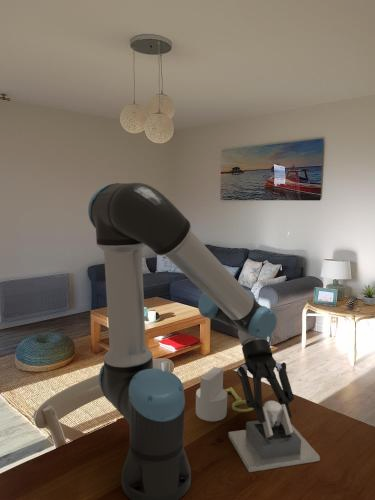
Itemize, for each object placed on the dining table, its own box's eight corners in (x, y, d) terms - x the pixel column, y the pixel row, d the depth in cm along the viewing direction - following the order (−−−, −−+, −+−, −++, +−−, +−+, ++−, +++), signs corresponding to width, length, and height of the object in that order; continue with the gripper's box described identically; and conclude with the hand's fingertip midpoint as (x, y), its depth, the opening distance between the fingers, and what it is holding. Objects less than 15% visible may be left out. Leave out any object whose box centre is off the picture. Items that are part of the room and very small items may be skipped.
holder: (249, 472, 91) (249, 453, 90) (228, 436, 104) (228, 419, 103) (319, 460, 95) (320, 442, 94) (290, 427, 108) (291, 411, 108)
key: (230, 392, 128) (230, 385, 128) (258, 409, 119) (258, 402, 118) (213, 398, 124) (213, 392, 124) (241, 416, 114) (241, 409, 114)
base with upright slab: (218, 424, 109) (219, 383, 108) (190, 415, 114) (190, 375, 112) (231, 410, 117) (233, 371, 115) (204, 401, 121) (205, 364, 120)
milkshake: (274, 446, 96) (276, 407, 94) (257, 435, 100) (260, 398, 99) (286, 440, 98) (289, 402, 97) (270, 429, 103) (272, 393, 101)
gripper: (279, 347, 114) (306, 434, 100) (220, 351, 109) (240, 443, 96) (289, 335, 108) (319, 426, 94) (228, 340, 104) (250, 436, 90)
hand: (279, 434), depth 95 cm, fingers closed on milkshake, 4 cm apart
